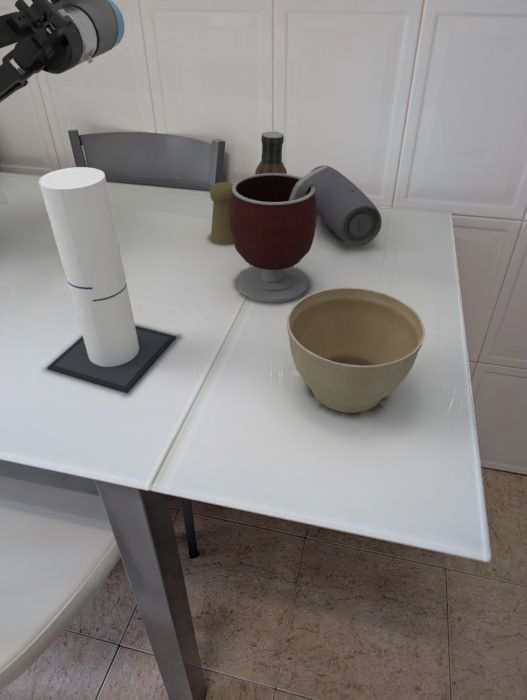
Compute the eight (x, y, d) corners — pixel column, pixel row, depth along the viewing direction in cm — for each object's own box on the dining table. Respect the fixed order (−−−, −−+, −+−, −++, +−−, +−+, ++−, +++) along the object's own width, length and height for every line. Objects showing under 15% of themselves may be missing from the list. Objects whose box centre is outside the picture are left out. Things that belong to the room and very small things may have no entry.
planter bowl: (307, 340, 74) (311, 276, 67) (417, 367, 69) (433, 301, 62) (266, 412, 62) (266, 344, 56) (394, 450, 57) (412, 381, 51)
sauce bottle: (252, 242, 99) (251, 138, 87) (254, 229, 104) (253, 128, 92) (284, 243, 99) (288, 139, 87) (285, 229, 104) (288, 129, 92)
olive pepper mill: (219, 246, 98) (216, 192, 91) (205, 235, 102) (201, 182, 95) (245, 239, 100) (244, 186, 93) (231, 228, 104) (229, 176, 97)
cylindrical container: (98, 334, 74) (55, 166, 59) (145, 337, 74) (113, 168, 58) (80, 365, 69) (27, 188, 53) (130, 368, 68) (91, 190, 53)
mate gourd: (237, 308, 81) (232, 187, 68) (228, 267, 91) (223, 156, 79) (329, 300, 82) (341, 181, 70) (310, 261, 93) (318, 151, 81)
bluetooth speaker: (380, 249, 97) (388, 200, 91) (335, 255, 95) (341, 204, 89) (338, 205, 114) (343, 161, 108) (300, 209, 112) (302, 164, 106)
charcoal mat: (47, 369, 69) (46, 367, 69) (103, 319, 78) (103, 317, 78) (126, 393, 65) (126, 391, 65) (176, 337, 74) (175, 335, 74)
